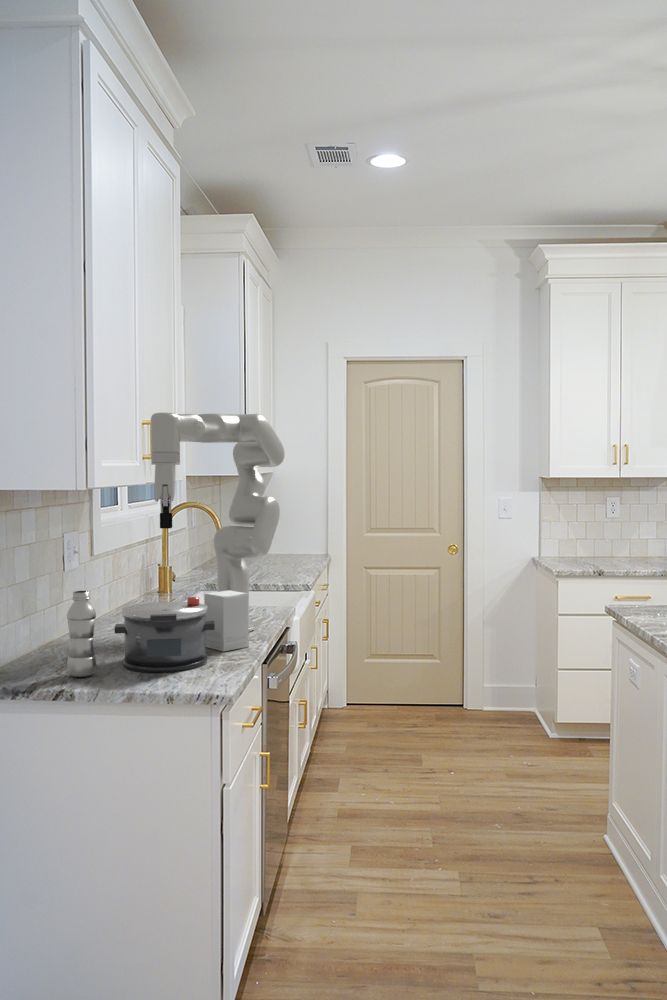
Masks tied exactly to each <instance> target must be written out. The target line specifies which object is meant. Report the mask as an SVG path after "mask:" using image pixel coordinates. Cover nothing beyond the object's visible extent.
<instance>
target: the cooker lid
mask: <svg viewBox="0 0 667 1000" xmlns="http://www.w3.org/2000/svg"><path fill="white" fill-rule="evenodd" d="M205 614H207V605H205V604H204V603H200V597H199V596H188V597H187V601H164V602H163V601H162V602H160V601H159V602H145V603H139V604H132V605H128V606H127V605H126V606H125V607H122V608H121V617H123V618H124V617H125V618H129V619H136V620H150V621H175V620H177V619H186V618H193V617H198V616H202V615H205Z"/></svg>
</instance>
